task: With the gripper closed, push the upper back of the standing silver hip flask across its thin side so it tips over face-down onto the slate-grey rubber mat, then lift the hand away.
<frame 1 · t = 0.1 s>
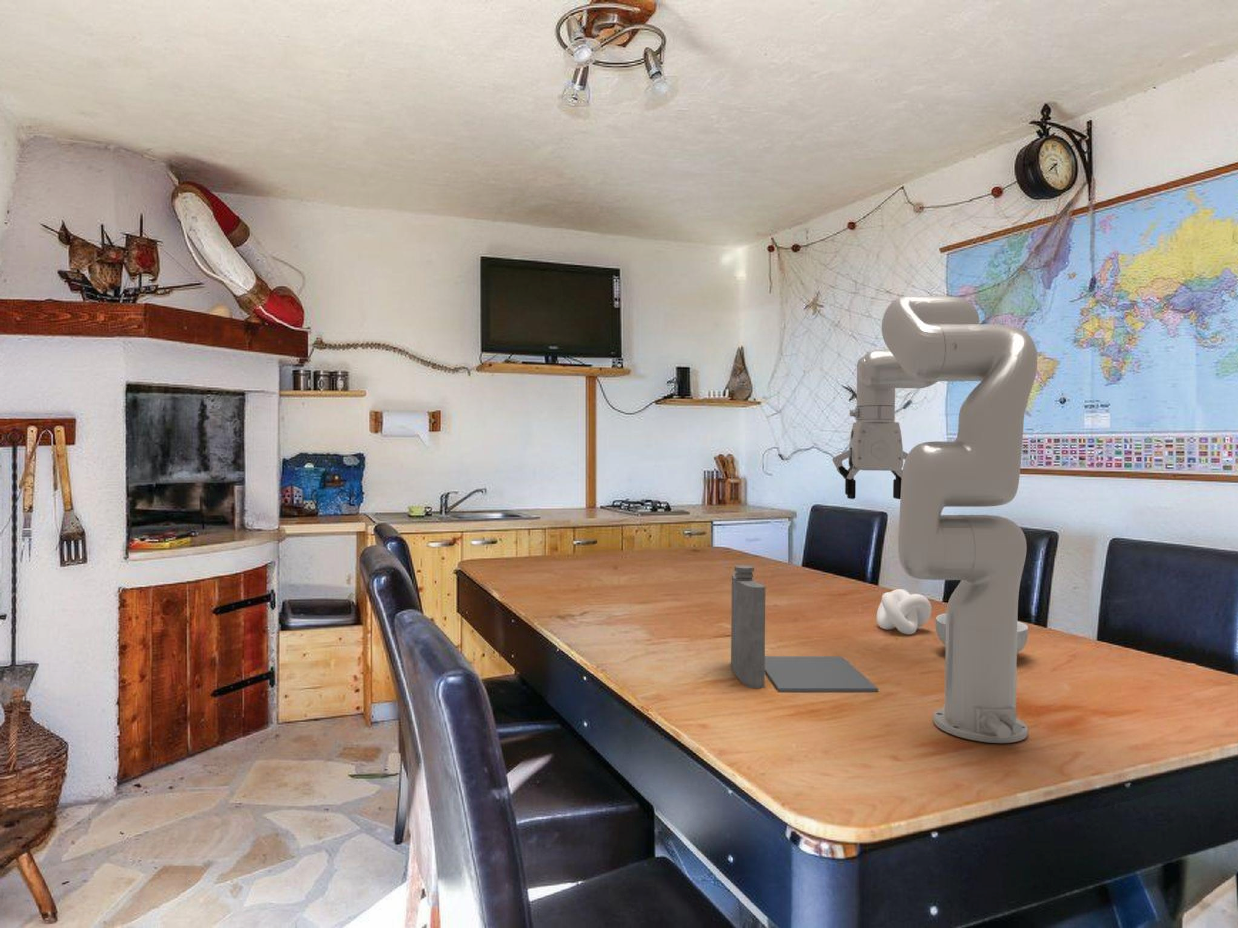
hand: (874, 498, 157), 31 cm above the table, fingers open, 9 cm apart
cereal bowl: (980, 656, 153), on the table
mat: (812, 674, 139), on the table
hip flask: (744, 675, 139), on the table
white decorative knot: (904, 631, 174), on the table
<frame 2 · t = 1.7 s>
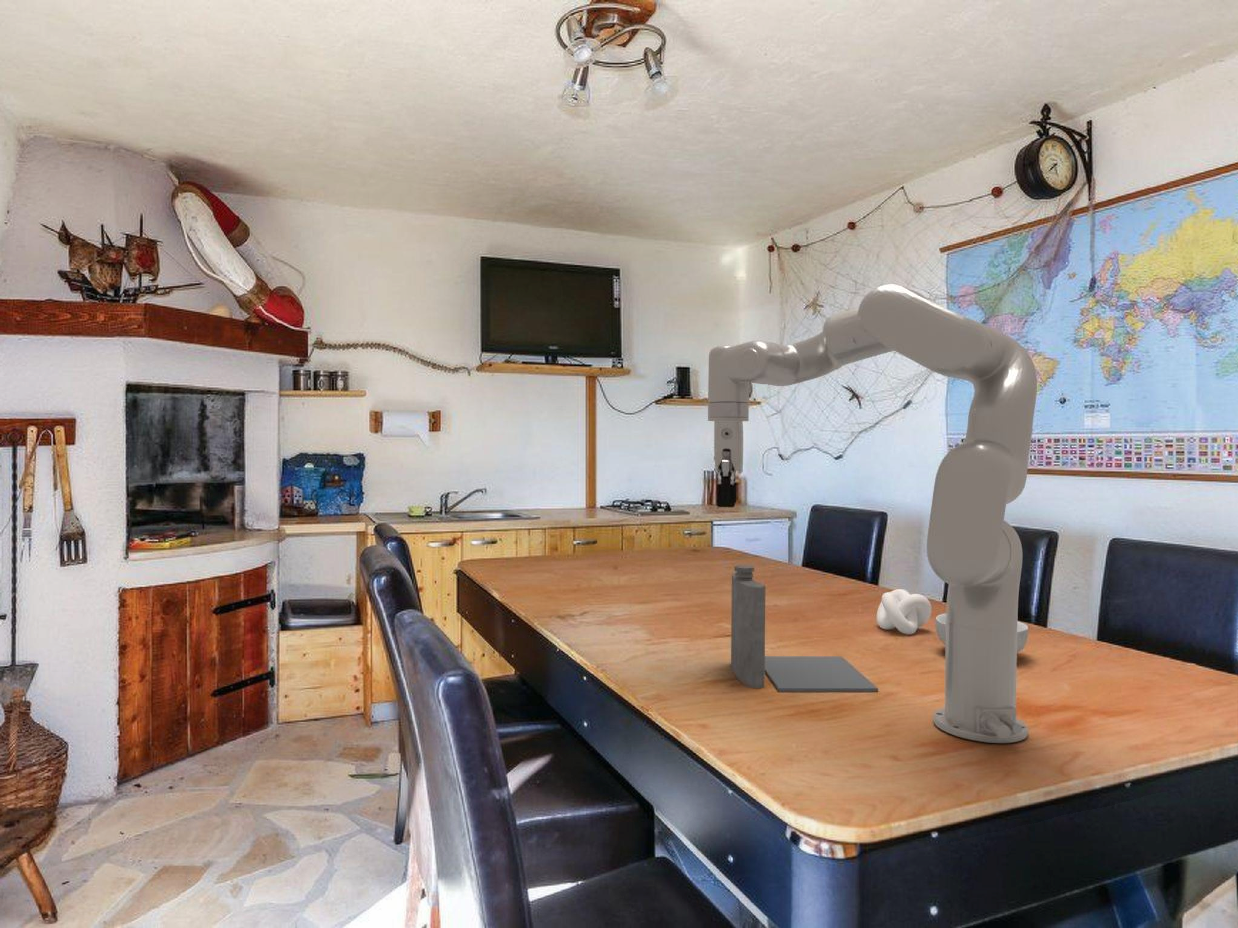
hand: (726, 504, 142), 31 cm above the table, fingers open, 9 cm apart
nothing on the table moved.
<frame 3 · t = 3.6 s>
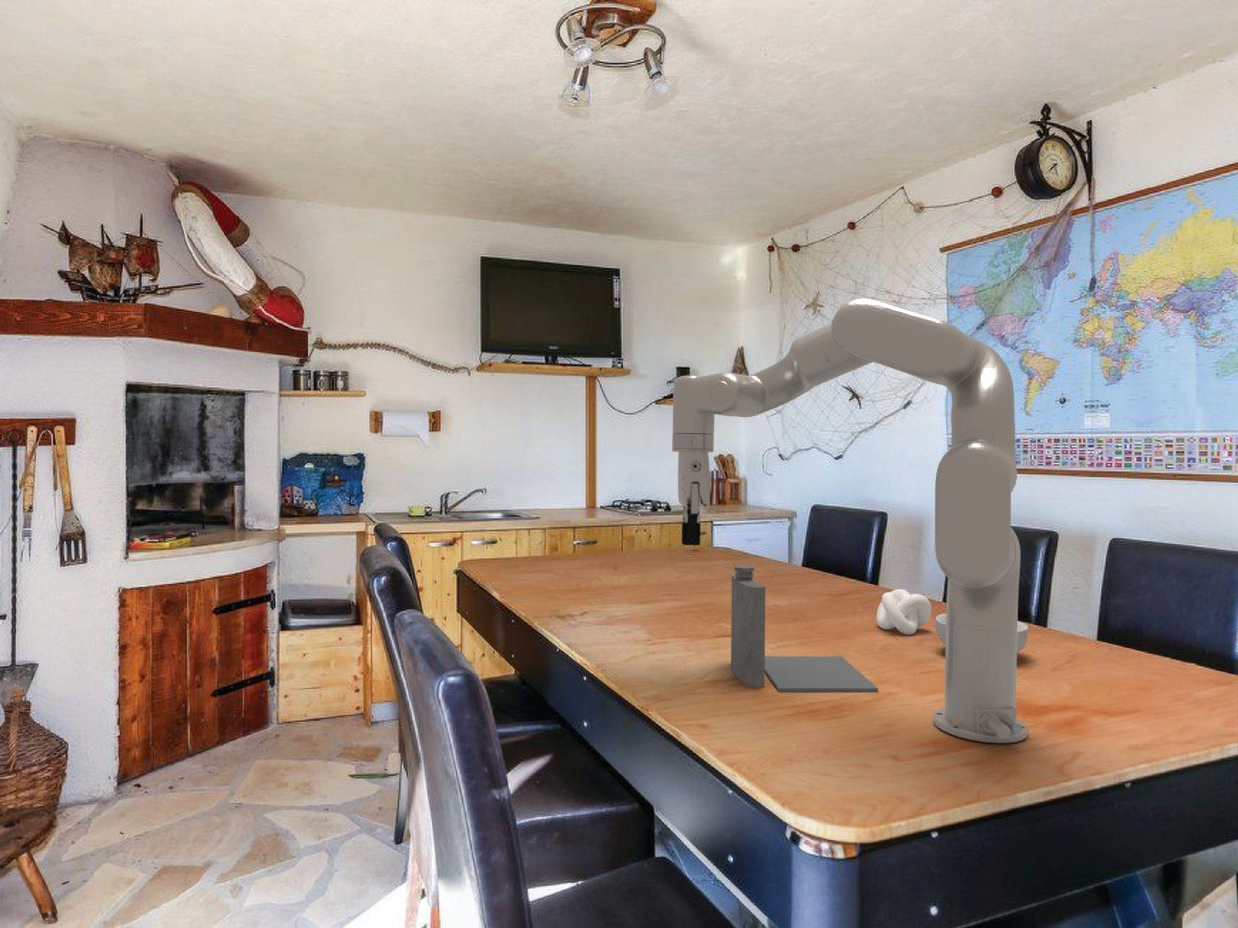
hand: (690, 544, 139), 24 cm above the table, fingers closed
nothing on the table moved.
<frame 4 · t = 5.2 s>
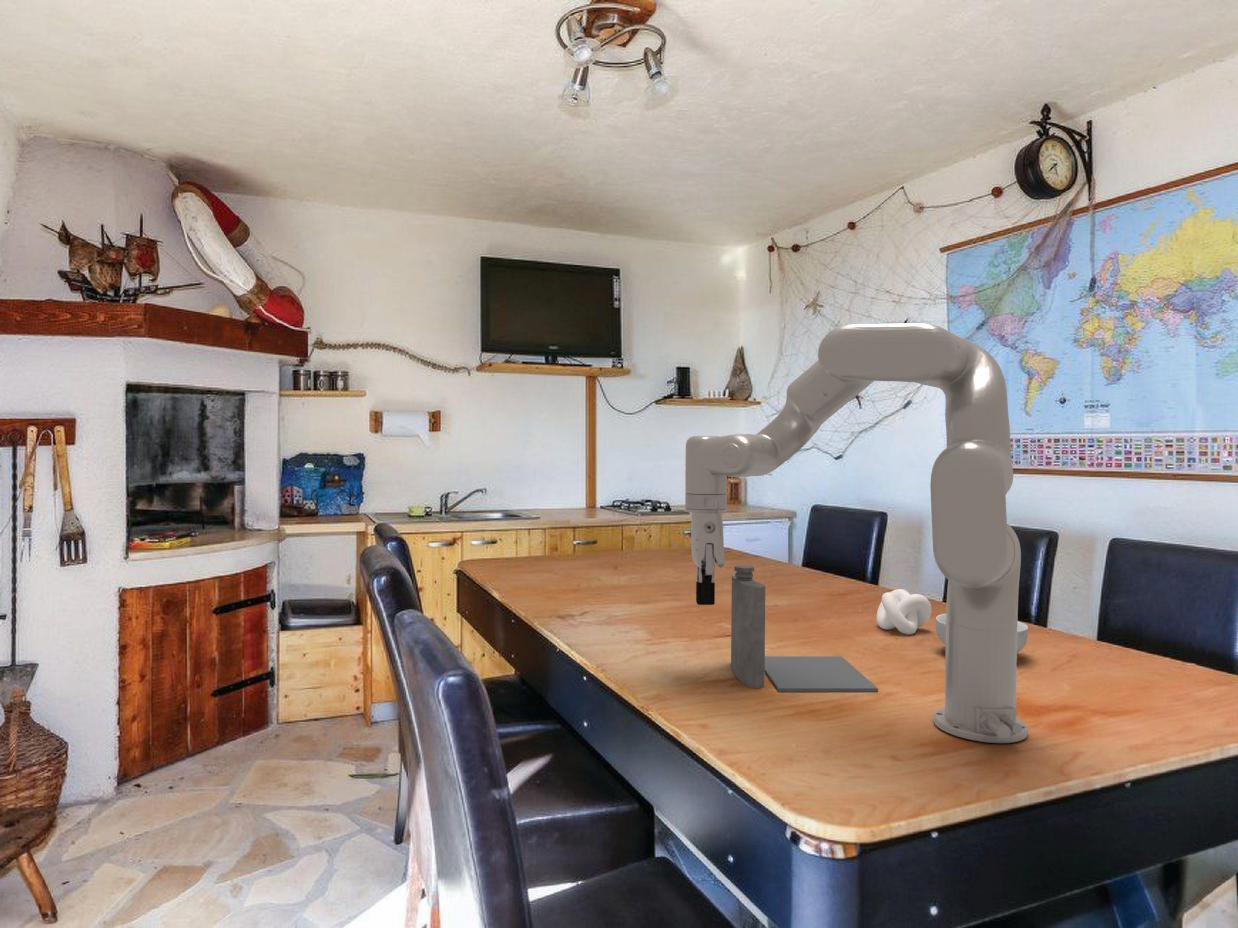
hand: (705, 603, 139), 13 cm above the table, fingers closed
nothing on the table moved.
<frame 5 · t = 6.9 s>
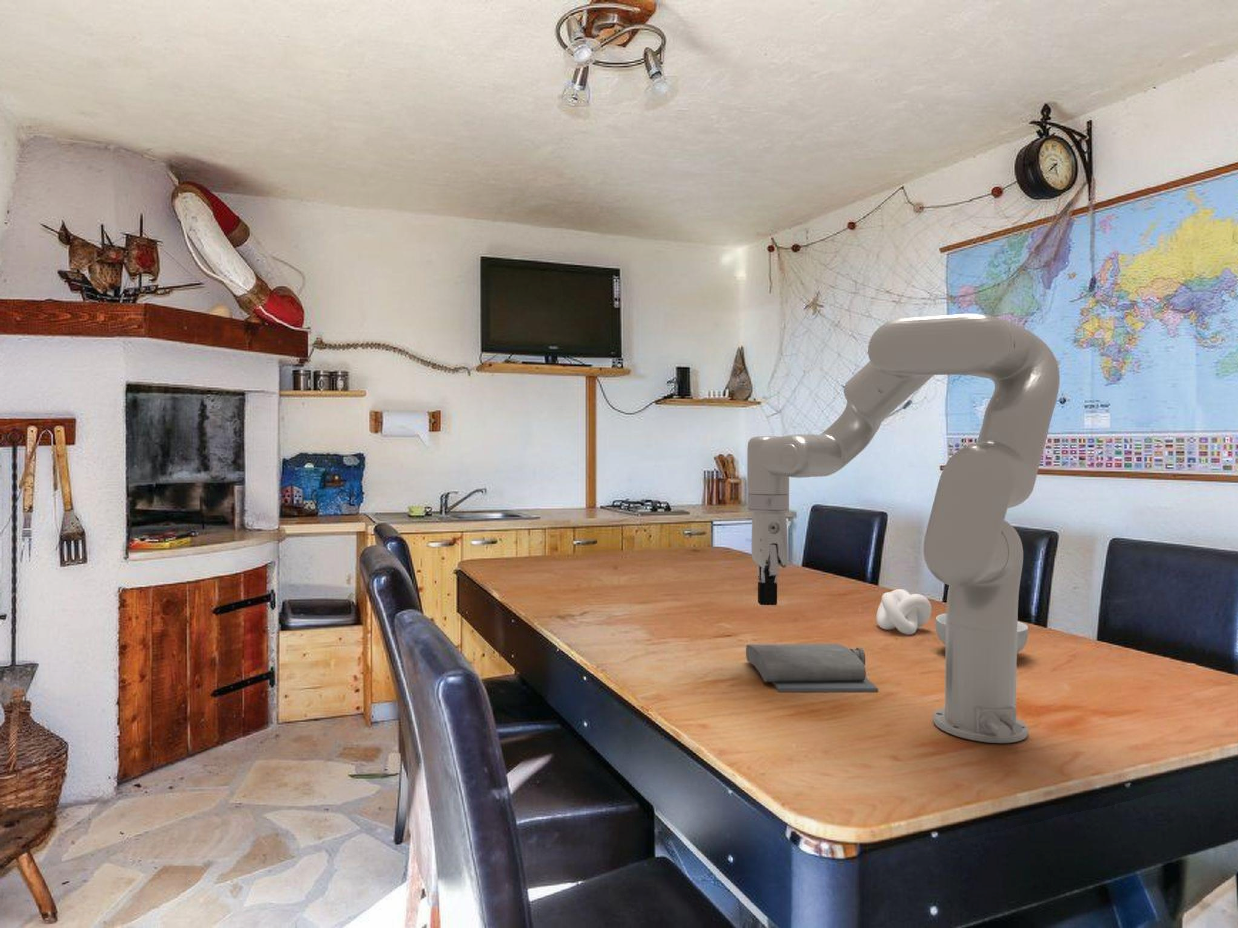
hand: (767, 603, 139), 13 cm above the table, fingers closed
hip flask: (754, 659, 139), point 3 cm above the table, touching mat
everything else where it was.
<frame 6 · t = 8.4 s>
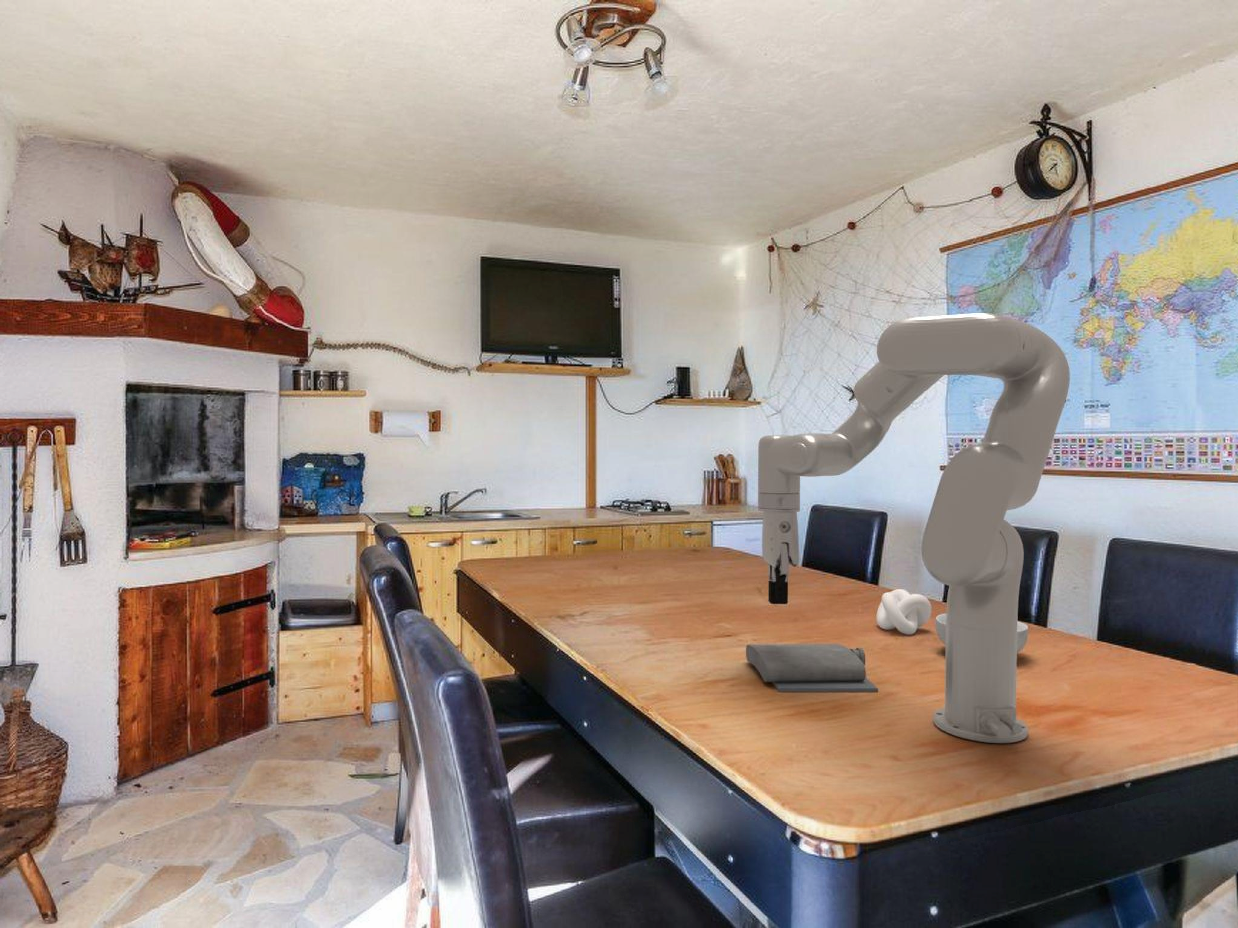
hand: (778, 602, 139), 13 cm above the table, fingers closed
nothing on the table moved.
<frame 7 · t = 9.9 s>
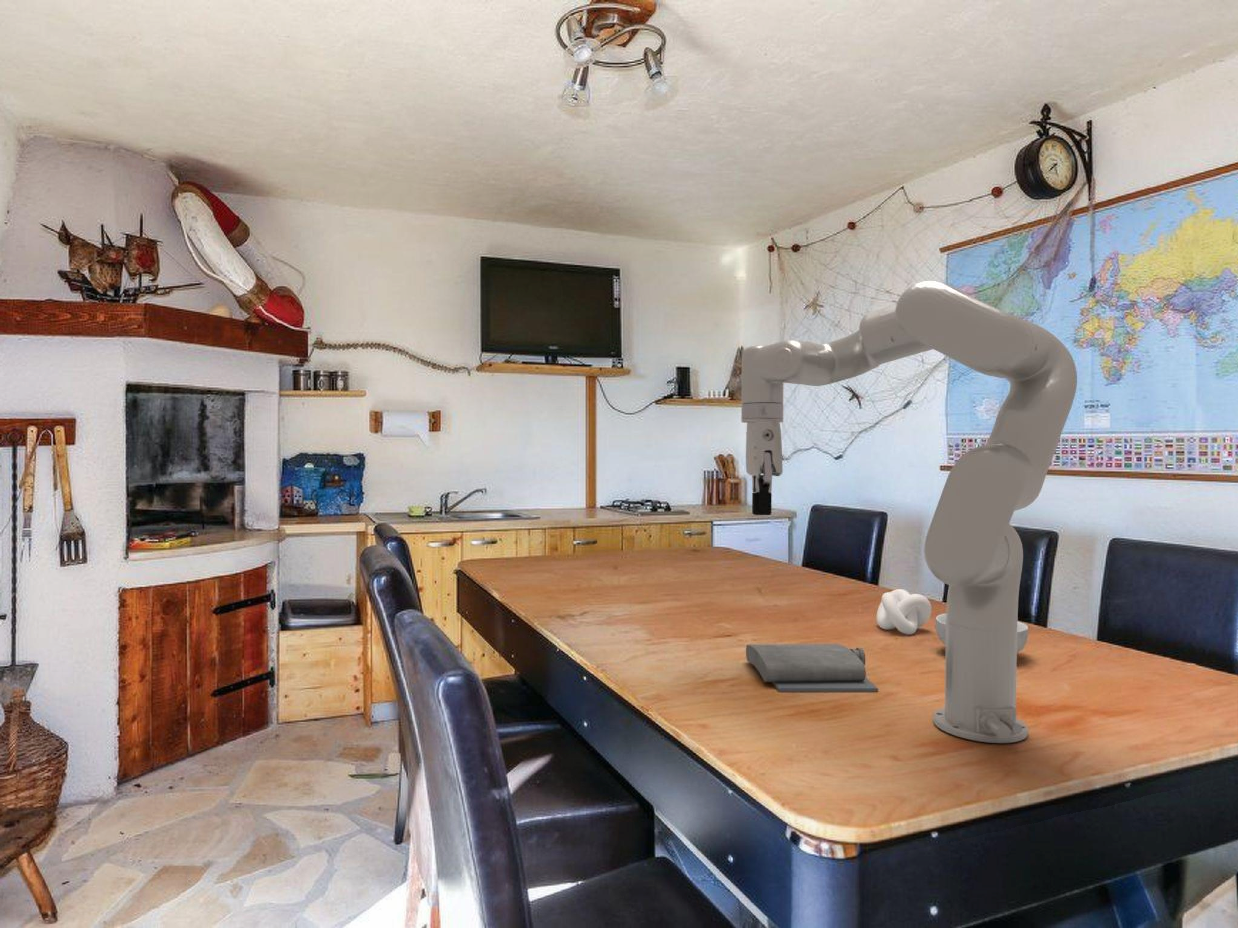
hand: (761, 514, 139), 29 cm above the table, fingers closed
nothing on the table moved.
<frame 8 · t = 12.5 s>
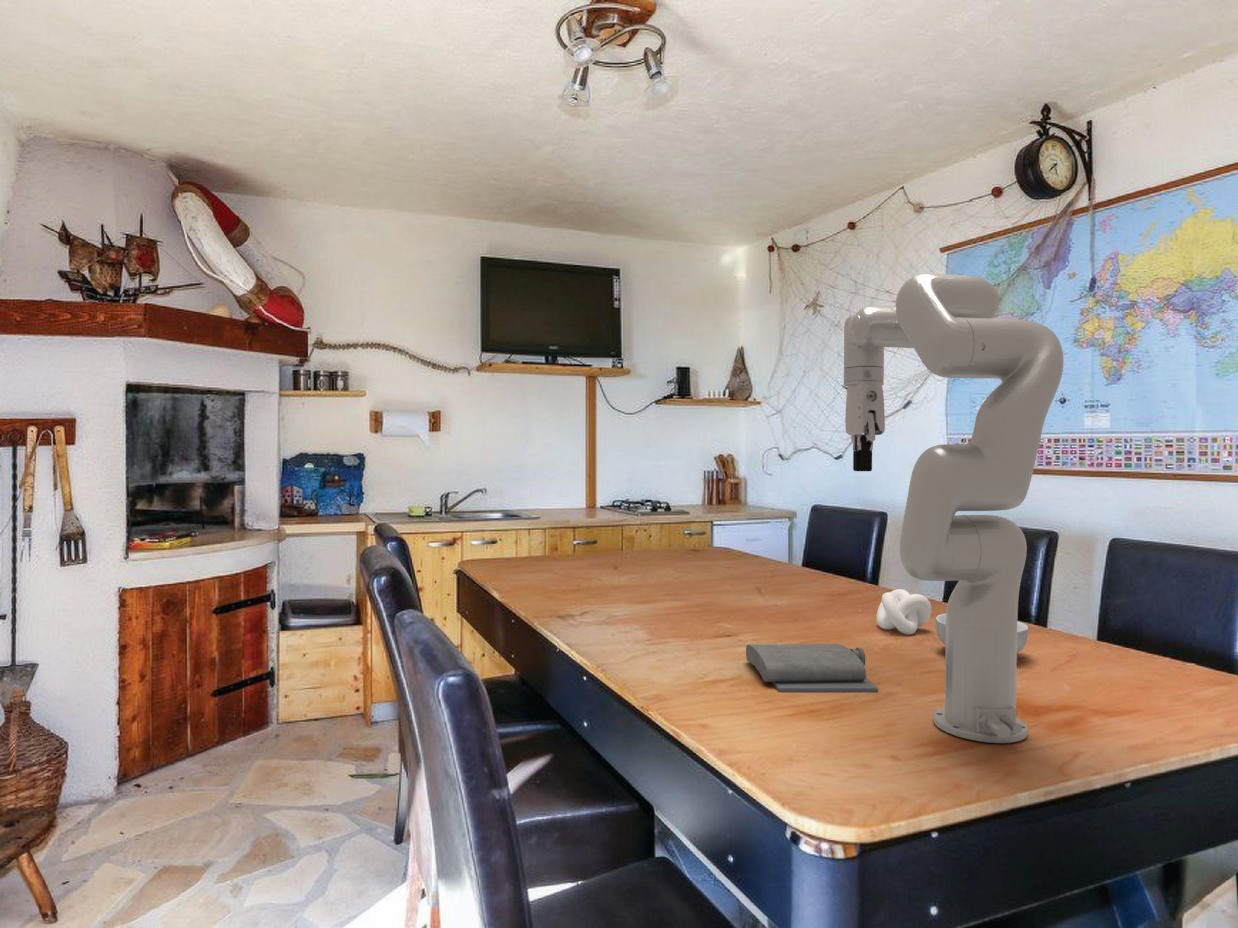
hand: (862, 470, 150), 37 cm above the table, fingers closed
nothing on the table moved.
at the end: hip flask tilted 90°; hip flask touching mat; hip flask inside the target area (1.6 cm from its centre), point 2.6 cm above the table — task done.
